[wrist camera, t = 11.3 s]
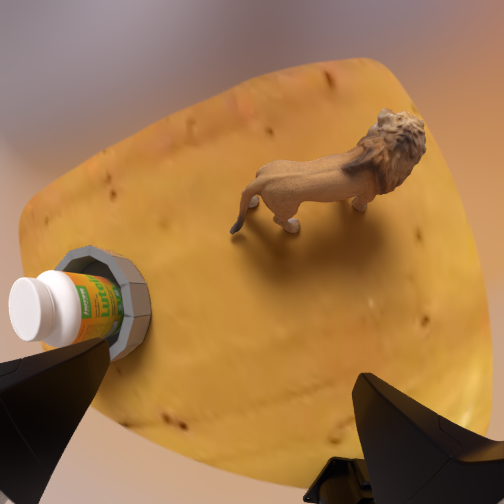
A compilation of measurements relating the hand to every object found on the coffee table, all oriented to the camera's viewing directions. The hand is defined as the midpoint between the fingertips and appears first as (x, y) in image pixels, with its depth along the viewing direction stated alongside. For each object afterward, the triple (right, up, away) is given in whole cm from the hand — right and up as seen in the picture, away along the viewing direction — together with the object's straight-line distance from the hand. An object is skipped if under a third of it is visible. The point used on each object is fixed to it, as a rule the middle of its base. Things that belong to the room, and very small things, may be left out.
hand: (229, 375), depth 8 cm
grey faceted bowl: (-12, -1, +13) cm, 18 cm away
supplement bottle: (-12, -1, +13) cm, 18 cm away
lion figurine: (+6, +9, +13) cm, 17 cm away
